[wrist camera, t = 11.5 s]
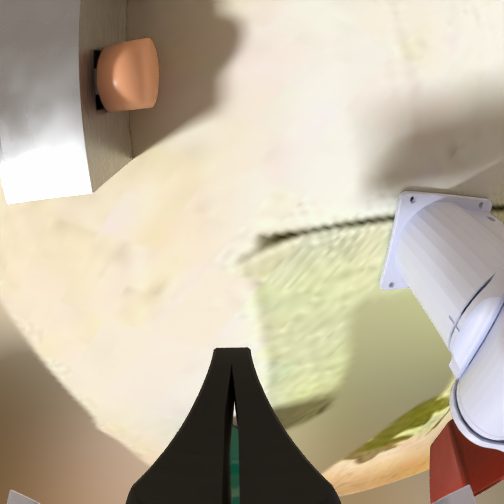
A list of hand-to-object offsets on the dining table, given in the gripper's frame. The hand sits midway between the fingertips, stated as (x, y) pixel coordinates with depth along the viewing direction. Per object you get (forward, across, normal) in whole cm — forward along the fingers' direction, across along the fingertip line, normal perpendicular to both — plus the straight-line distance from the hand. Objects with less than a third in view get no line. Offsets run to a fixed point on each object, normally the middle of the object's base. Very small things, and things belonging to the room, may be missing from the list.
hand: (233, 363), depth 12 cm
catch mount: (+10, +8, -15) cm, 20 cm away
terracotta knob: (+9, +7, -11) cm, 16 cm away
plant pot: (+10, -44, +42) cm, 62 cm away
